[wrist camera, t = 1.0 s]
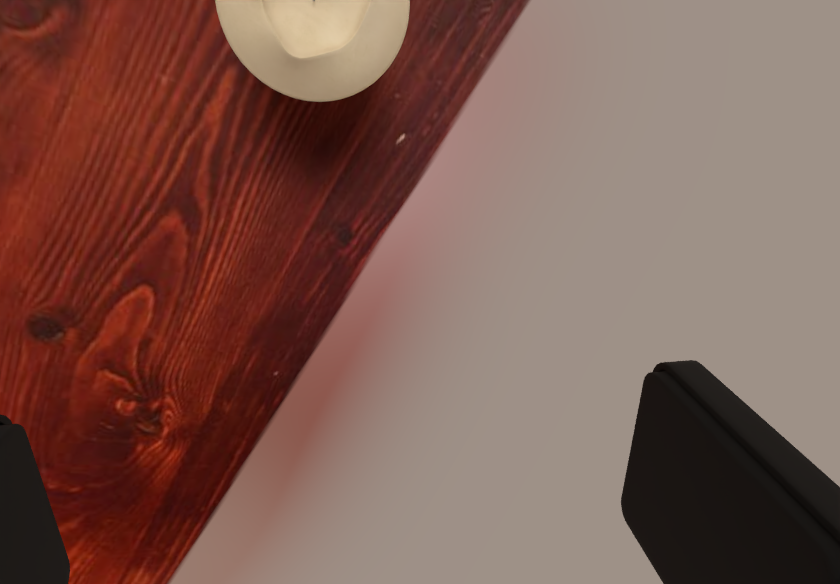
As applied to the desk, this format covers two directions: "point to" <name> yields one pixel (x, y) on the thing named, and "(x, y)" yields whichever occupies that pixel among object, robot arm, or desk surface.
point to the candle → (315, 42)
